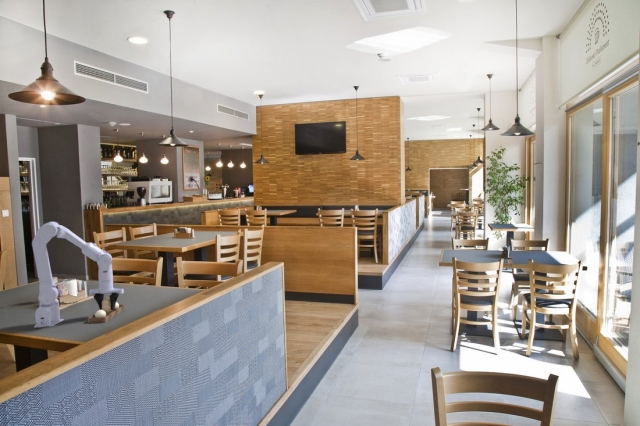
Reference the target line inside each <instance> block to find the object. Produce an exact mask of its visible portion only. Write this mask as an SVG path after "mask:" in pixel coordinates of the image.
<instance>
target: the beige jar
mask: <svg viewBox="0 0 640 426" xmlns="http://www.w3.org/2000/svg"><path fill="white" fill-rule="evenodd" d="M102 310H104V311H105V312H106V313H112V312H113V310H111V301H110V297H104V299H103V301H102Z"/></svg>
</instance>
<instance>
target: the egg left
mask: <svg viewBox="0 0 640 426" xmlns="http://www.w3.org/2000/svg"><path fill="white" fill-rule="evenodd" d="M94 314H95V318H97V317H106V312H105V311H104V310H100V309H99V310H97V311H96V312H95V313H94Z"/></svg>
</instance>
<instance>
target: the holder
mask: <svg viewBox="0 0 640 426" xmlns="http://www.w3.org/2000/svg"><path fill="white" fill-rule="evenodd" d="M126 307H127V306H126V304H124V303H123V304H122V303H121V304H119V308H116V309H114V310H113V312H112V313H106V317H97V318H95V313H93V314H92V315H91V316H89V317H87V323H88V324H94V323H95V324H96V323H97V324H98V323H107V322H108V321H110V320H112V319H113V318H115V317H116V316H117V315H118V314H120V313H122V312H123V311H124V310H126Z"/></svg>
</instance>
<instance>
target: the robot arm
mask: <svg viewBox="0 0 640 426" xmlns="http://www.w3.org/2000/svg"><path fill="white" fill-rule="evenodd" d="M54 237H56V239H57V238H58V239H66V241H69V242H70V243H72V244H73V245H75V246H76V247H78V248H80V249H81V253H82V254H83V255H84V256H86V257H87V258H89V259H90V260H92V261H93V262H96V264H97V266H98V289H97V288H95V289H90V290H89V292H88V295H89V296H91V295H93V298H94V300H95V302H96V303H97V304H98V307H99V310H102V301H103V299H105V297H104V296H105V295H108V296H109V297H108V298H110V301H111V310H114V309H115V304H116V302H117V300H118V299H119V296H120V295H122V294H124V292H125V291H124V288H115V287H114V277H113V276H114V275H113V267H112V266H113V265H112V262H113V257H112V255H111V254H110V253H109V252H106V250H105V249H104V250H103V249H101V248H100V247H98V246H97V245H98V244H96V243H95V242H94V243H93V242H86V241H85V240H84V239H82V238H81V237H79V236H78V235H77V234H75V233H74V231H71V230H70V229H69V228H67V227H66V226H63V225H60V224H59V223H58V222H57V221H49V222H46V223H44V224H42V226H40V227H39V228H38V229H37V232H36V234H35V236H34V238H32V239H33V240H32V241H31V247H32V251H33V256H34V262H35V266H36V271H37V277H38V281H39V282H38V283H39V287H38V290H39V293H38V298H37V299H38V301H39V307H38V308H37V309H36V310H35V313H34V315H35V316H34V317H35V319H34V320H35V325H34V326H33V328H46V327H53V326H55V325H57V324H59V323H60V322H63V321H64V320H65V319H64V318H61V316H60V315H61V314H60V301H59V299H58V296H59V294H60V292H59V289H58V288H57V287H56V286H55V283H54V281H53V279H52V277H53V274H52V269H51V265H50V259H49V253H48V248H47V244H48V243H49V242H50V241H51V240H52V238H54Z"/></svg>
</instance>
